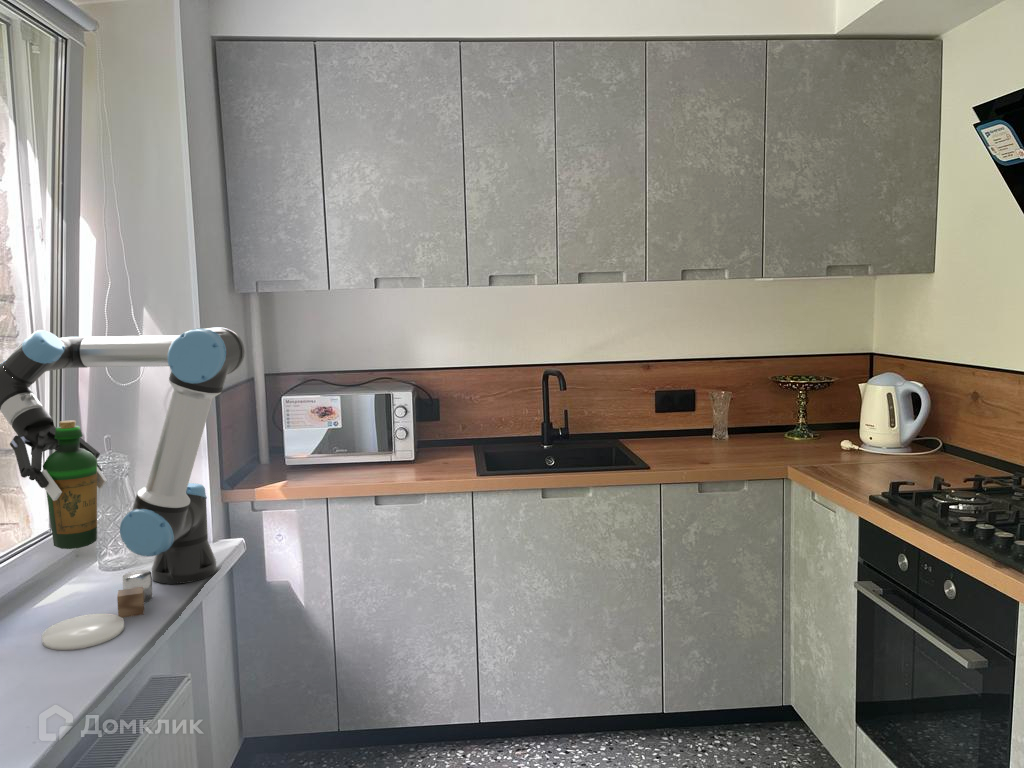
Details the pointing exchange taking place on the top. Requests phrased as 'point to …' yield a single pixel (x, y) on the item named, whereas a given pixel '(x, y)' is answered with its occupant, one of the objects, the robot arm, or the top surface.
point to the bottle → (72, 490)
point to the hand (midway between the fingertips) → (81, 490)
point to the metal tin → (139, 582)
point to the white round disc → (82, 631)
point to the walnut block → (130, 602)
